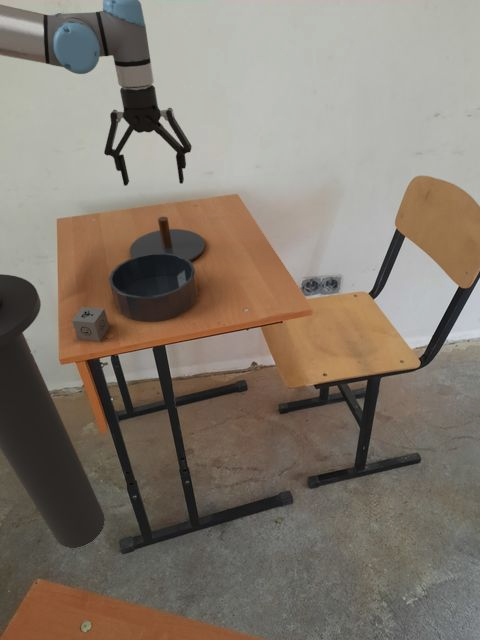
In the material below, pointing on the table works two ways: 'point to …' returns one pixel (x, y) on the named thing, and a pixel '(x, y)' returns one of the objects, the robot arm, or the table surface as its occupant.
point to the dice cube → (90, 324)
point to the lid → (169, 242)
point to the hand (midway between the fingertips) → (154, 182)
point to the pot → (154, 286)
